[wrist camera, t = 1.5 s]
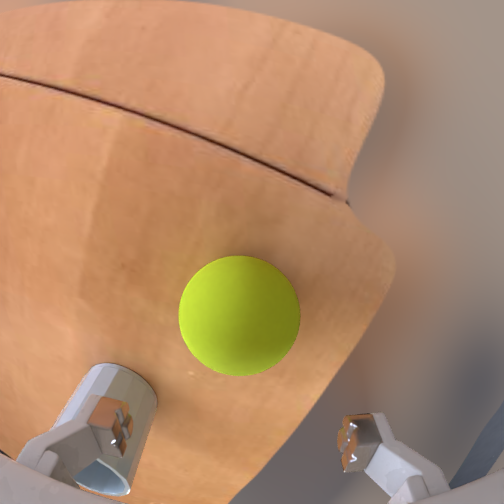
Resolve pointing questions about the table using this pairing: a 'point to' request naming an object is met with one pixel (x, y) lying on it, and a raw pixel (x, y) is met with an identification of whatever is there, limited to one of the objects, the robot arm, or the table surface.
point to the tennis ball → (239, 315)
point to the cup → (142, 411)
